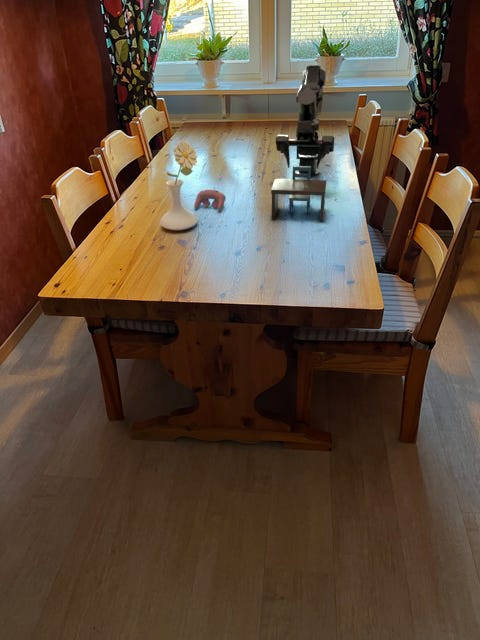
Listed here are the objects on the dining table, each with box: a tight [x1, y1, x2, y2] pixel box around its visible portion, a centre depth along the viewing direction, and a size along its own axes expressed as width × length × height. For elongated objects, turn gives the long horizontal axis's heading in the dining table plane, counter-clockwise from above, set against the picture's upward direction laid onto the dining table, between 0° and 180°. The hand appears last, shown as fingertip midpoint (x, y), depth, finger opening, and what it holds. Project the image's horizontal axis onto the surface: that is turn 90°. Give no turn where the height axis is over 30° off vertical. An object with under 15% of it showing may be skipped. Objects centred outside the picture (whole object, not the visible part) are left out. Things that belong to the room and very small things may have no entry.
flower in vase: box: [159, 140, 198, 231], centre depth 146 cm, size 13×11×25 cm
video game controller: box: [193, 189, 226, 213], centre depth 162 cm, size 10×5×7 cm, turn 71°
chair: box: [288, 165, 312, 215], centre depth 157 cm, size 7×6×13 cm
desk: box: [270, 178, 328, 223], centre depth 154 cm, size 10×16×10 cm, turn 79°
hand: (302, 167), depth 160 cm, fingers open, 9 cm apart
